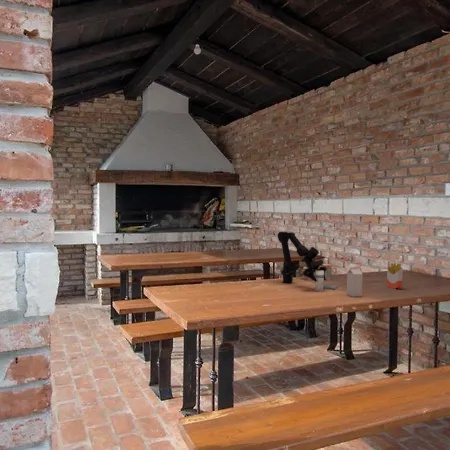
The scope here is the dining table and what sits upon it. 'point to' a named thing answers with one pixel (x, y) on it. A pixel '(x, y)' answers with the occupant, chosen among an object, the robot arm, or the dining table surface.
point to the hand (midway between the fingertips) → (320, 280)
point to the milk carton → (354, 282)
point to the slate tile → (330, 287)
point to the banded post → (319, 280)
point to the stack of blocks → (327, 272)
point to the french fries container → (394, 276)
